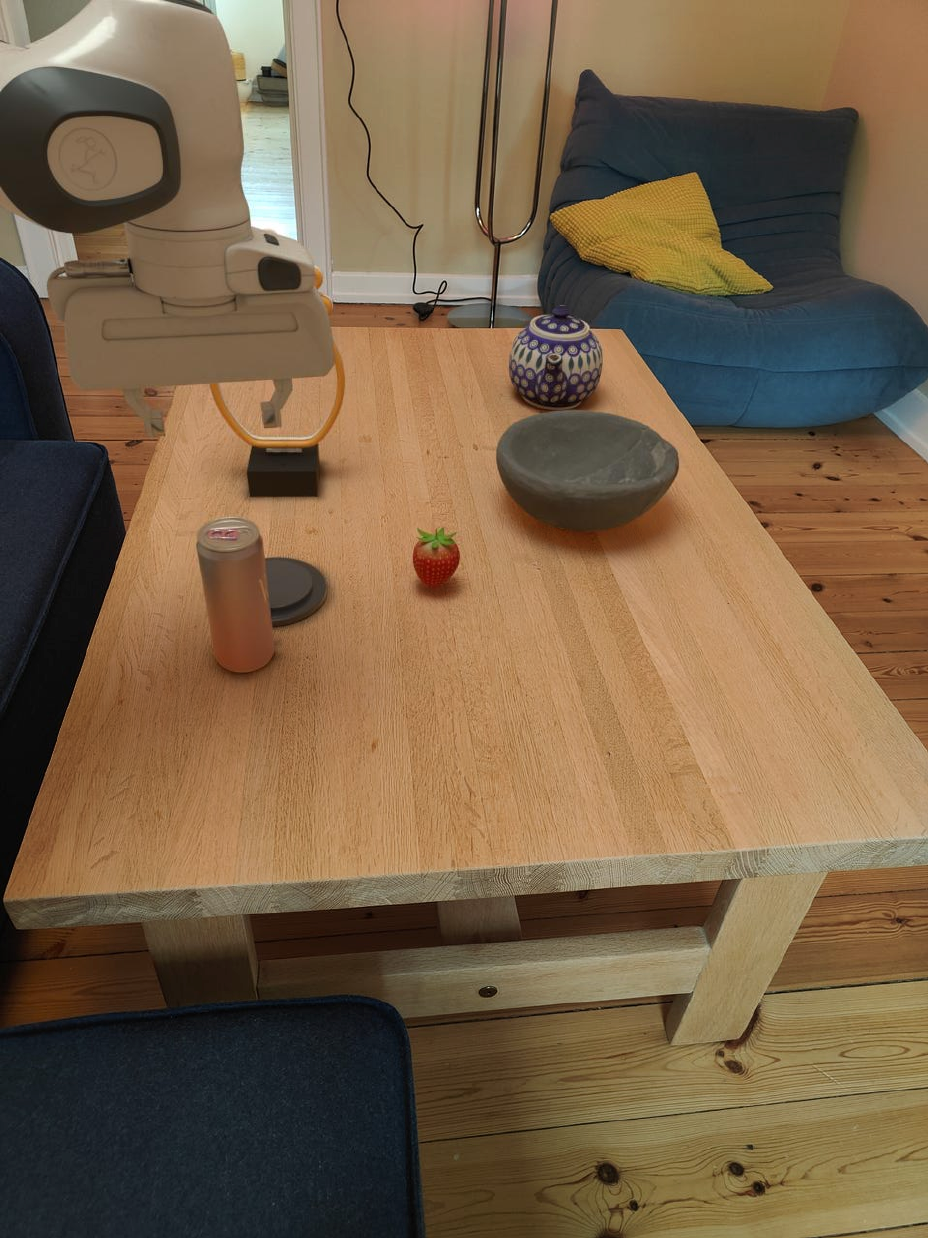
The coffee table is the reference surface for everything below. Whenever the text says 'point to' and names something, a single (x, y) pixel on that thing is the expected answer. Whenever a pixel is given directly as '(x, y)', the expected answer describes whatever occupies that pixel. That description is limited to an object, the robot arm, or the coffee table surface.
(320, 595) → the saucer
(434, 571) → the fruit
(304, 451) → the lamp
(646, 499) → the bowl
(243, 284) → the robot arm
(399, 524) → the coffee table surface
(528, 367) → the teapot
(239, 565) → the beverage can
